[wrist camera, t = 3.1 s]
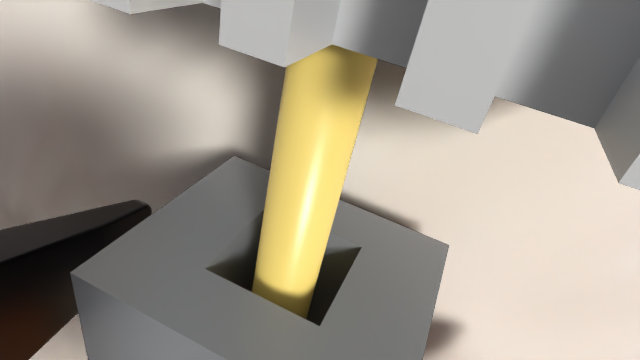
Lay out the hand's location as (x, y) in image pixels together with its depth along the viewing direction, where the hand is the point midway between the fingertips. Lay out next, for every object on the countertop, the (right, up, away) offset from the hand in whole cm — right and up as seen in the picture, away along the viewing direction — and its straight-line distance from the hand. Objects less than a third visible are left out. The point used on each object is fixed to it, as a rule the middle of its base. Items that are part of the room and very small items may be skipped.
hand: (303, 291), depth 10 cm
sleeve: (0, 0, 0) cm, 0 cm away
